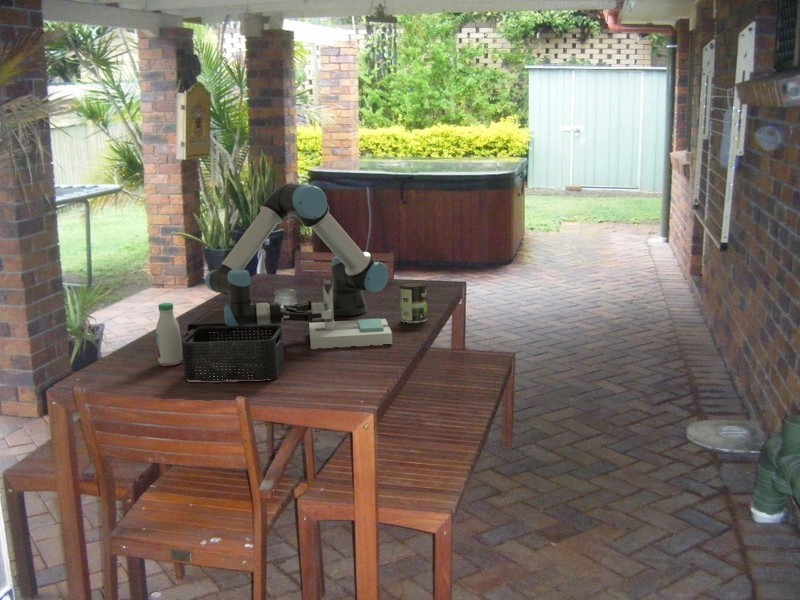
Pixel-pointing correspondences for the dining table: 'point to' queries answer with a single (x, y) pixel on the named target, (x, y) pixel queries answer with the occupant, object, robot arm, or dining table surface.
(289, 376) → the dining table surface
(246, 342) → the storage bin
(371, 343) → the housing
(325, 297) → the t key
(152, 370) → the dining table surface
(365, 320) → the cover
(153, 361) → the dining table surface
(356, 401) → the dining table surface
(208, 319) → the diary
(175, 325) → the milk bottle
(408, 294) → the coffee can
